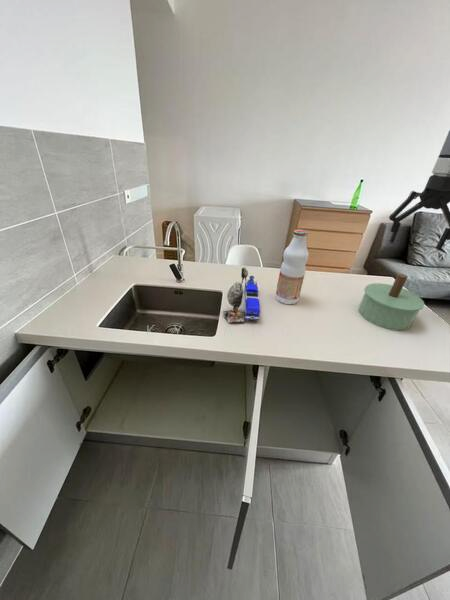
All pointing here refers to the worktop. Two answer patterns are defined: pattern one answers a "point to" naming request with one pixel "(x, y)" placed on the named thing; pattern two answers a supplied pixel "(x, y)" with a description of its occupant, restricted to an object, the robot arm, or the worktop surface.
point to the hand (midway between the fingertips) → (414, 245)
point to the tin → (385, 315)
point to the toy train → (251, 300)
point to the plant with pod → (236, 300)
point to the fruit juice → (293, 269)
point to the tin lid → (394, 295)
